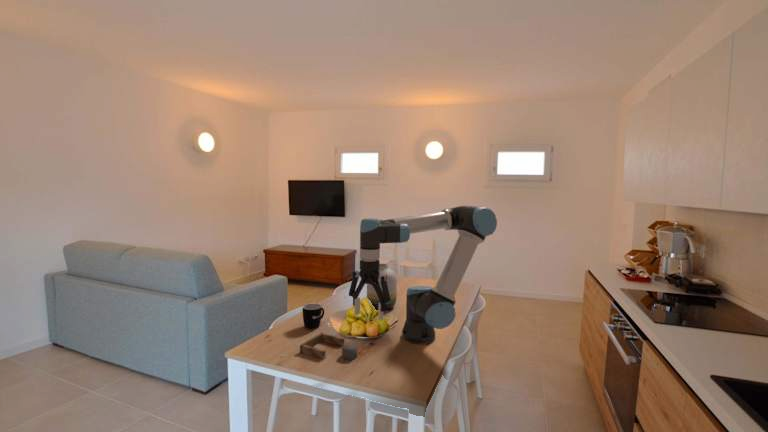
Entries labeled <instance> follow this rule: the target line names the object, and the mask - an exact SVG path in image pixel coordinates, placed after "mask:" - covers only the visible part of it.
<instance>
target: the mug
mask: <svg viewBox="0 0 768 432" xmlns="http://www.w3.org/2000/svg"><path fill="white" fill-rule="evenodd" d="M324 315H325V309H324V307H322V304H320V303H313V302H312V303H306V304H304V305H303V306H302V319H303V325H304V327H305V329H307V330H316V329H318V328H319V327H320V324H321V321H322V319H323V318H324Z"/></svg>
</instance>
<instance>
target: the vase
mask: <svg viewBox="0 0 768 432" xmlns="http://www.w3.org/2000/svg"><path fill="white" fill-rule="evenodd" d="M379 273H380V275H383V276H384V275H386V276H387V286H388V290H389V295H390V301H389V302H387V303H386V307H385V310H388V309H391V308H393V307H394V306H395V305H396V302H397V299H398V298H397V296H398V293H397V292H398V278H397V274H396V272H395V271H393V270H392V268H390V267H389V265H388V264H387V263H380V266H379ZM378 281H379V285H380V287H381V290H382V286H381V281H380V278H379V279H378ZM375 284H376V283H375ZM382 292H383V291H382ZM367 298H368V299H369V300H370V301H371V303H372V305H373V306H374V307H375V308H376V310H378V304H379V303H380V300H379V298H378V296H377V293H376V291H375V289H374V287H373V286H372V285H370V284H366V299H367ZM375 308H374V309H375Z"/></svg>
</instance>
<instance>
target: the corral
mask: <svg viewBox="0 0 768 432" xmlns="http://www.w3.org/2000/svg"><path fill="white" fill-rule="evenodd" d="M321 342H325V343H328V344H332V345H336V346H340V347H343V346H345V338H344V337H341V336H337V335H333V334H328V333H324V332H320V333H319V334H317V335H315V336H314V337H311V338H310V339H308V340H307V341H305V342H304V343H302V344H300V345H299V353H300V354H301V353H302V354H304V355H308V356H311V357H315V358H318V359H322V360H325V359H326V354H327V353H326V350H325V349H321V348H318V347H315V346H317V345H318V344H319V343H321Z"/></svg>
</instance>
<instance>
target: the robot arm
mask: <svg viewBox="0 0 768 432" xmlns="http://www.w3.org/2000/svg"><path fill="white" fill-rule="evenodd" d="M496 216H497V215H496V214H495V212H494V211H493V210H492V209H491V208H488V207H484V206H473V205H460V206H456V207H450V208H445V209H442V210H441V211H437V212H431V213H424V214H418V215H412V216H411V215H410V216H404V217H397V218H396V217H395V218H391V219H379V218H363V219H362V220H360V226H359V227H360V229H359V270H355V271H353V272H352V281H351V283H350V287H349V291H348V296H349V297H352V306H353V307H354V316H359V314H360V313H361V297H360V294H361V293H362V290H363V288H364V286H365V285H367V284H370V285H372V286H373V287H374V289H375V291H376V293H377V296H378V298H379V300H380V303H379V304H378V309H377V310H378V312H377V313H378V314H377V315H378V316H377V317H378V318H377V321H382V320H384V312H385V311H386V309H385V307H386V303H387V302H389V301H390V295H389V290H388V286H387V276H386V275H384V276H383V275H380V273H379V266H380V264H381V263H380V258H381V257H380V253H381V252H380V251H381V249H380V248H381V244H402V243H406V242H408V241H409V239H410V237H411V235H412V234H418V233H424V232H425V233H426V232H429V231H430V232H431V231H437V230H442V229H443V230H445V231H450V230H451V231H452V230H454V231H457V232H458V238H457V240H456V243H455V244H454V247H453V248H452V251H451V253H450V255H449V256H448V259H447V261H446V263H445V265H444V267H443V269H442V272H441V274H440V276H439V278H438V280H437V282H436V284H435V286H433V287H432V286H429V285H414V286H410V287H408V288H407V289H406V294H405V295H406V303H405V304H406V305H405V306H406V309H405V310H406V311H405V312H406V313H405V319H406V320H405V321H404V325H403V327H402V330H401V338H402V340H404V341H406V342H407V343H411V344H417V345H419V344H420V345H422V344H429V343H432V342H433V341H435V340H436V331H435V329H437V330H443V329H445V328H447V327H450V325H451V324H452V323H453V322H454V320H455V318H456V314H457V313H456V308H455V304H456V302H457V300H456V298H455V295H456V294H457V291H458V288H459V287H460V285H461V282H462V280H463V278H464V276H465V274H466V271H467V269H468V267H469V265H470V263H471V260H472V258H473V257H474V254H475V253H476V250H477V248H478V246H479V244H482V243H484V242H485V240H486V237H488V236H490V235H493V234H494V233H495V231H496V229H497V226H498V221H497V217H496ZM359 277H360V281H359ZM379 278H380V281H381V286H382V290H381V287H380V285H379V281H378V279H379ZM358 282H359V283H358ZM375 283H376V284H375ZM382 291H383V292H382Z"/></svg>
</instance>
